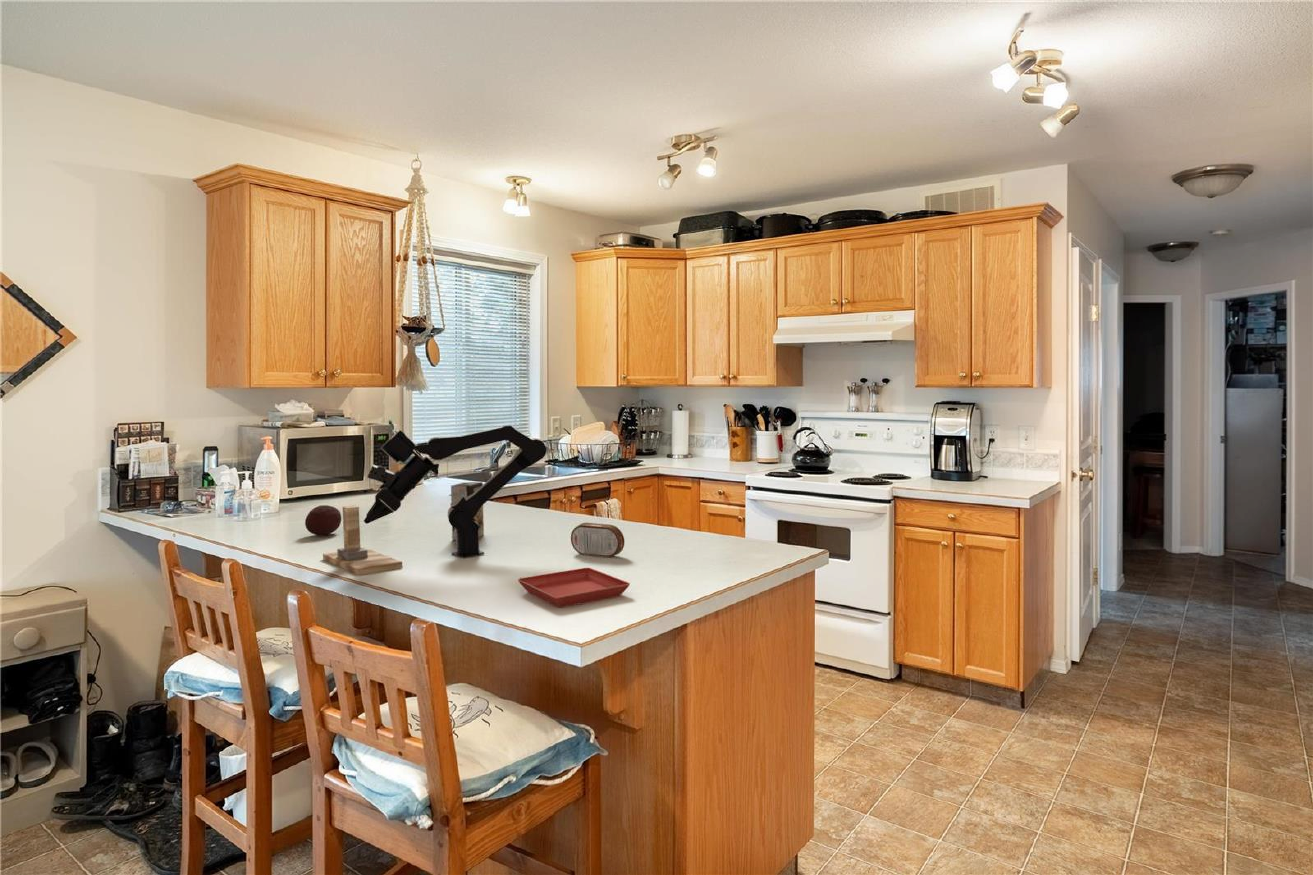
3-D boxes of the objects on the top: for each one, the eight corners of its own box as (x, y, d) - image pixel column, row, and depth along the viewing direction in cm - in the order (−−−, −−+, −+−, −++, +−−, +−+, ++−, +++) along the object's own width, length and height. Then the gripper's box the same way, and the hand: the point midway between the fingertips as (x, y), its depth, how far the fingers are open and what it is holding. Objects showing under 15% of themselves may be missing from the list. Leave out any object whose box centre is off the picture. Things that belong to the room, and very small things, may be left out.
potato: (349, 532, 243) (348, 503, 242) (318, 540, 232) (317, 508, 231) (327, 531, 246) (326, 501, 245) (297, 538, 235) (295, 507, 234)
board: (402, 567, 194) (402, 561, 194) (358, 575, 187) (357, 568, 187) (364, 553, 212) (364, 547, 212) (323, 559, 205) (322, 553, 205)
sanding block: (367, 557, 199) (365, 507, 198) (347, 561, 196) (345, 509, 195) (357, 553, 204) (355, 504, 203) (337, 556, 201) (335, 506, 200)
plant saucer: (632, 597, 165) (631, 582, 165) (555, 613, 155) (555, 596, 155) (588, 581, 180) (588, 566, 180) (516, 593, 170) (516, 578, 169)
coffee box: (472, 540, 227) (470, 485, 226) (451, 540, 229) (449, 485, 228) (485, 534, 236) (483, 481, 235) (465, 534, 238) (463, 481, 237)
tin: (625, 556, 204) (624, 524, 203) (619, 559, 201) (619, 526, 200) (575, 552, 210) (574, 521, 210) (569, 554, 207) (568, 523, 207)
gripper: (388, 451, 210) (345, 493, 207) (385, 456, 192) (337, 503, 189) (419, 479, 212) (377, 521, 210) (419, 487, 195) (373, 534, 192)
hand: (366, 519), depth 200 cm, fingers open, 9 cm apart
